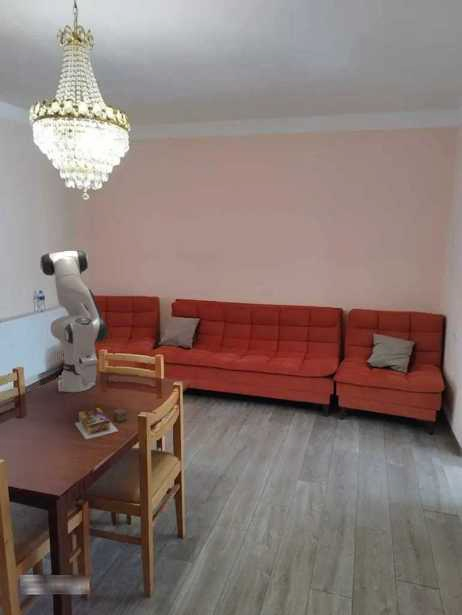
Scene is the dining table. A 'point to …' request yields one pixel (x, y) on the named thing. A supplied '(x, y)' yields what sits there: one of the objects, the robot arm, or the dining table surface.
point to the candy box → (94, 420)
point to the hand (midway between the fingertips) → (85, 385)
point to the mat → (96, 434)
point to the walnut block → (119, 415)
